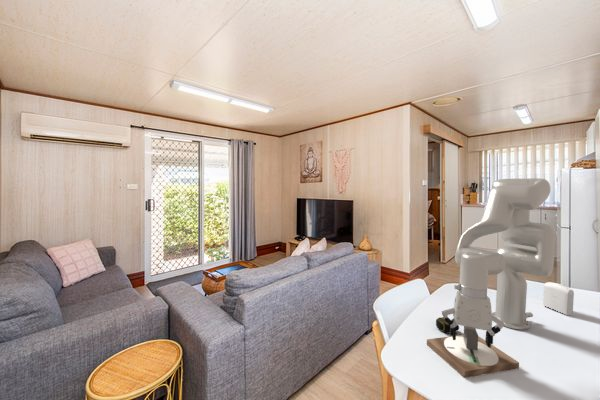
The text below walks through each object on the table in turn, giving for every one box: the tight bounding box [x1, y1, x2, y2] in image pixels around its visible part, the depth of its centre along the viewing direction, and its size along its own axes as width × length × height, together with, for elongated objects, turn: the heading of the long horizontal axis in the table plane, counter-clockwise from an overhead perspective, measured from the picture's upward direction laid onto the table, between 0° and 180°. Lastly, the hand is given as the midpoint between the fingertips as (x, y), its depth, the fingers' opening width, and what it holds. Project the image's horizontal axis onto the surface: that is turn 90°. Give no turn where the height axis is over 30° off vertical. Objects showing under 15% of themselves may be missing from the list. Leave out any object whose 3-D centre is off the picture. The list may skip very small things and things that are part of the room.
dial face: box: [444, 335, 499, 366], centre depth 85 cm, size 15×15×1 cm
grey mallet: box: [463, 326, 479, 362], centre depth 83 cm, size 10×3×6 cm, turn 156°
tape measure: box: [435, 316, 460, 334], centre depth 101 cm, size 7×7×4 cm
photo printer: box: [542, 281, 575, 316], centre depth 117 cm, size 10×4×12 cm, turn 13°
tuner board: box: [426, 334, 520, 379], centre depth 85 cm, size 20×16×2 cm
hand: (470, 341), depth 85 cm, fingers open, 9 cm apart
